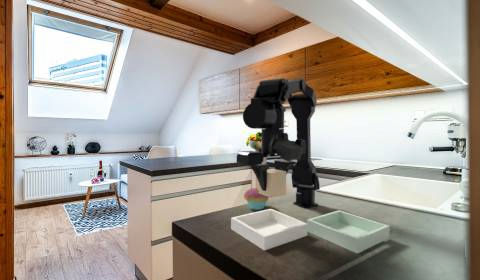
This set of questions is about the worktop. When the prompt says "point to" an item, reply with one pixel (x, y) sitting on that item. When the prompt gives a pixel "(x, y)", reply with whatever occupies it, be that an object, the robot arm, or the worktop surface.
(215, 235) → the worktop surface
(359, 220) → the bin
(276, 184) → the beige plain cubic block
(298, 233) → the bin
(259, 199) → the cupcake
